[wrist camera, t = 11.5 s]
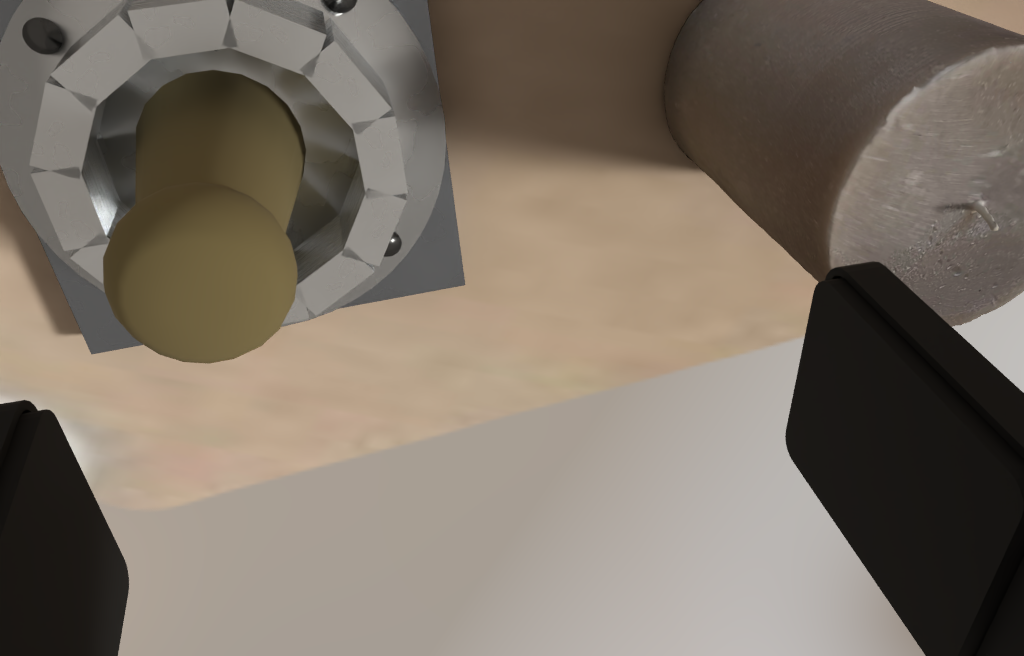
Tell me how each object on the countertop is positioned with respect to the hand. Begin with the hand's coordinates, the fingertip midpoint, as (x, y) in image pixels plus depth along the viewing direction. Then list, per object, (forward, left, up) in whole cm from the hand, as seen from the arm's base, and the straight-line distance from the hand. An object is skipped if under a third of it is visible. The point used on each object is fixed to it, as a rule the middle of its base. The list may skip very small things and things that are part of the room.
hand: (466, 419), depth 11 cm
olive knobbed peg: (+5, -6, -24) cm, 25 cm away
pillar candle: (+6, +17, -26) cm, 32 cm away
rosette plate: (+5, -5, -26) cm, 27 cm away
